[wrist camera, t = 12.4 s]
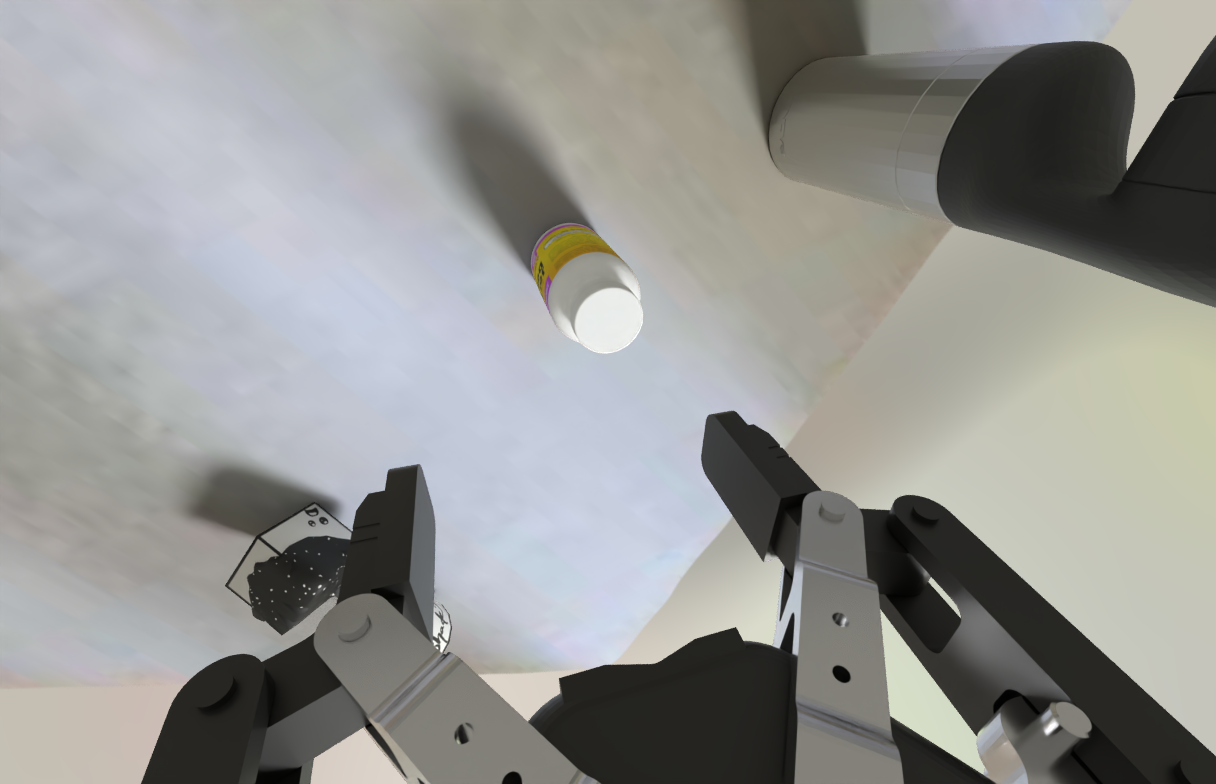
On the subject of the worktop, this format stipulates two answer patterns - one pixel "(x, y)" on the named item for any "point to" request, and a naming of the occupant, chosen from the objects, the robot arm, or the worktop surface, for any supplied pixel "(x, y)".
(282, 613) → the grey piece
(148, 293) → the worktop surface
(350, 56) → the worktop surface
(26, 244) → the worktop surface
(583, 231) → the supplement bottle
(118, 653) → the worktop surface
